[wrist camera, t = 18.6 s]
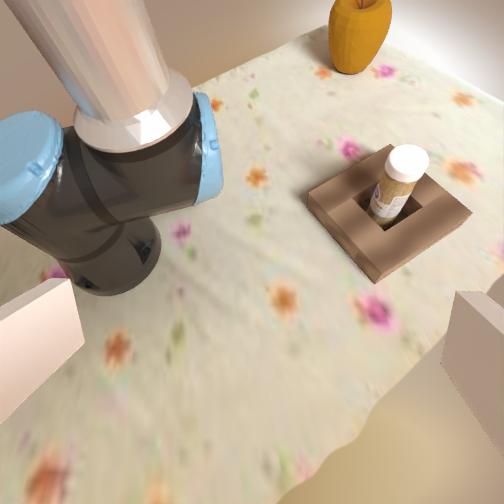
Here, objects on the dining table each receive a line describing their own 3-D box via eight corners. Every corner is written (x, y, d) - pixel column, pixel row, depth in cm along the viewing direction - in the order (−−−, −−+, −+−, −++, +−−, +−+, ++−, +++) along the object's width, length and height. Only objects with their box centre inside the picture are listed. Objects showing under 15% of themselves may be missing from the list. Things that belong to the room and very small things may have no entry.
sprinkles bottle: (359, 209, 50) (382, 148, 38) (387, 202, 50) (418, 138, 38) (371, 233, 48) (399, 177, 36) (400, 225, 48) (437, 166, 36)
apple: (382, 52, 66) (403, -23, 54) (373, 86, 61) (392, 13, 50) (330, 46, 68) (339, -26, 57) (318, 79, 64) (324, 7, 52)
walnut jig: (306, 207, 51) (308, 192, 47) (383, 161, 53) (390, 143, 50) (374, 284, 44) (382, 273, 41) (458, 227, 47) (472, 212, 43)
